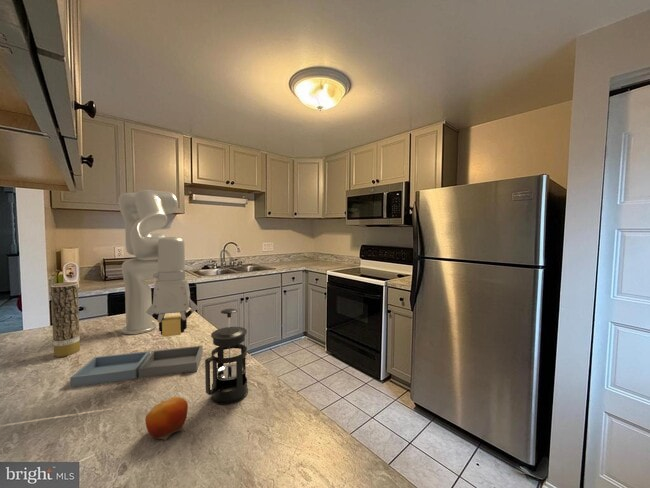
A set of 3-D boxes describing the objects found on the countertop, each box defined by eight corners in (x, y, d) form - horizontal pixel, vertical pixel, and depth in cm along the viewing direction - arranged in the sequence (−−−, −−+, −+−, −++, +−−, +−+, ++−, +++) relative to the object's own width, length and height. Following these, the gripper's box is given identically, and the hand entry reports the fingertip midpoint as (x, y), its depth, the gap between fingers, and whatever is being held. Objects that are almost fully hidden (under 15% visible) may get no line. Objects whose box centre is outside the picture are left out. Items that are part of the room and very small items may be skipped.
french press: (236, 379, 81) (236, 302, 80) (257, 391, 75) (256, 308, 74) (197, 399, 71) (196, 311, 70) (217, 413, 66) (216, 319, 65)
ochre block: (166, 331, 90) (166, 316, 90) (183, 329, 91) (183, 314, 91) (162, 336, 85) (161, 320, 85) (180, 334, 87) (179, 319, 86)
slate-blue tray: (94, 366, 88) (94, 356, 88) (150, 359, 93) (149, 351, 93) (70, 388, 76) (70, 377, 76) (135, 379, 80) (135, 369, 80)
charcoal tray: (152, 359, 93) (152, 350, 93) (202, 353, 97) (202, 345, 97) (138, 379, 81) (138, 369, 80) (196, 371, 85) (196, 362, 85)
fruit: (163, 447, 54) (151, 406, 55) (146, 452, 57) (136, 414, 59) (201, 423, 60) (189, 387, 62) (183, 429, 64) (173, 395, 66)
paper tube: (85, 349, 100) (82, 282, 99) (65, 358, 93) (63, 285, 92) (68, 348, 101) (65, 281, 100) (48, 357, 94) (45, 285, 93)
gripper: (136, 279, 82) (138, 339, 82) (199, 276, 86) (200, 333, 87) (145, 275, 89) (147, 331, 90) (202, 273, 94) (203, 325, 94)
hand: (173, 331), depth 88 cm, fingers closed on ochre block, 5 cm apart
